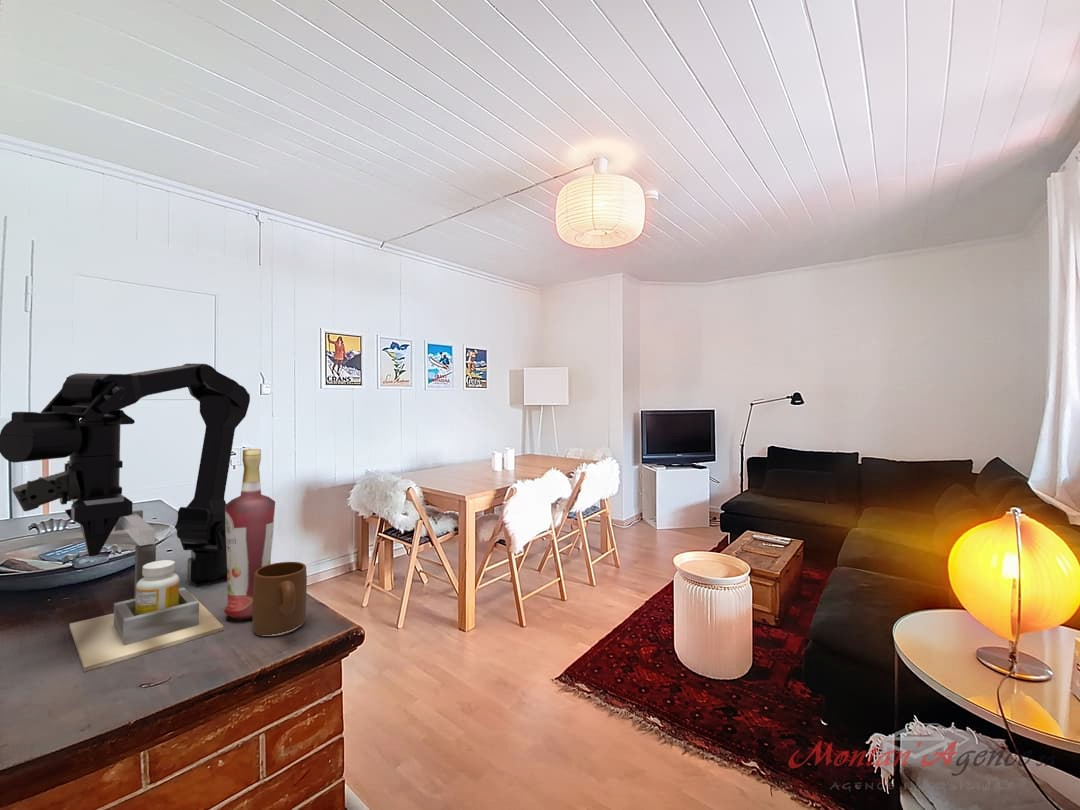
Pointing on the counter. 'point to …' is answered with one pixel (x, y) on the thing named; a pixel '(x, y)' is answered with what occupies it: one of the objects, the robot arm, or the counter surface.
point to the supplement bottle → (157, 587)
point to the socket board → (140, 625)
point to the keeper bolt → (137, 528)
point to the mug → (279, 597)
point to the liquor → (247, 537)
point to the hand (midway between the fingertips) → (93, 555)
